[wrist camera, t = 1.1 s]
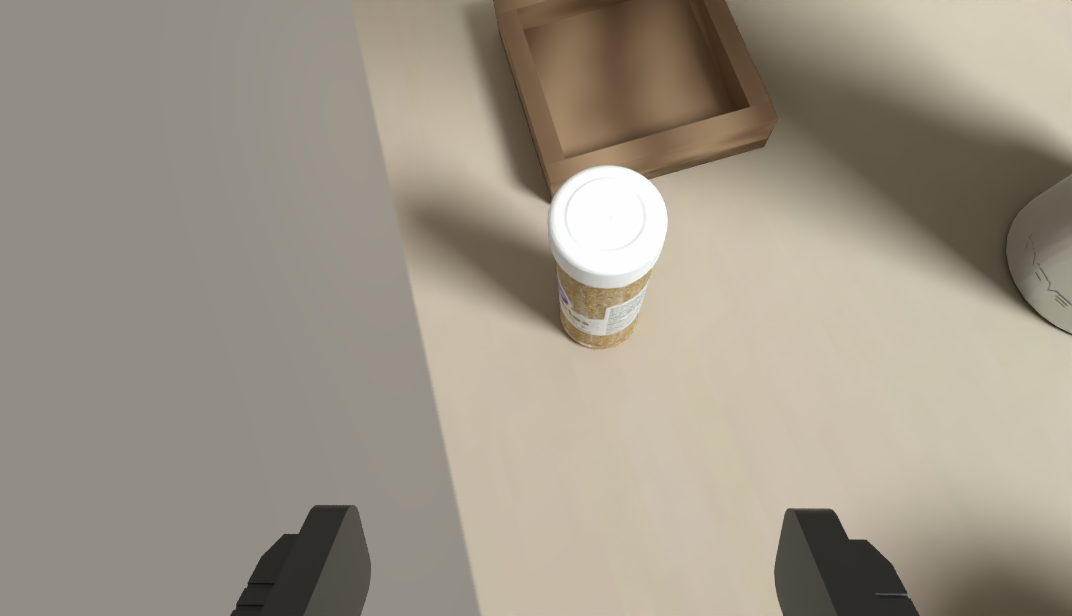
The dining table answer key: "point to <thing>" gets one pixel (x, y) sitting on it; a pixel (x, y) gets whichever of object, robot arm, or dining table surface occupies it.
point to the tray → (633, 84)
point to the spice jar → (604, 251)
